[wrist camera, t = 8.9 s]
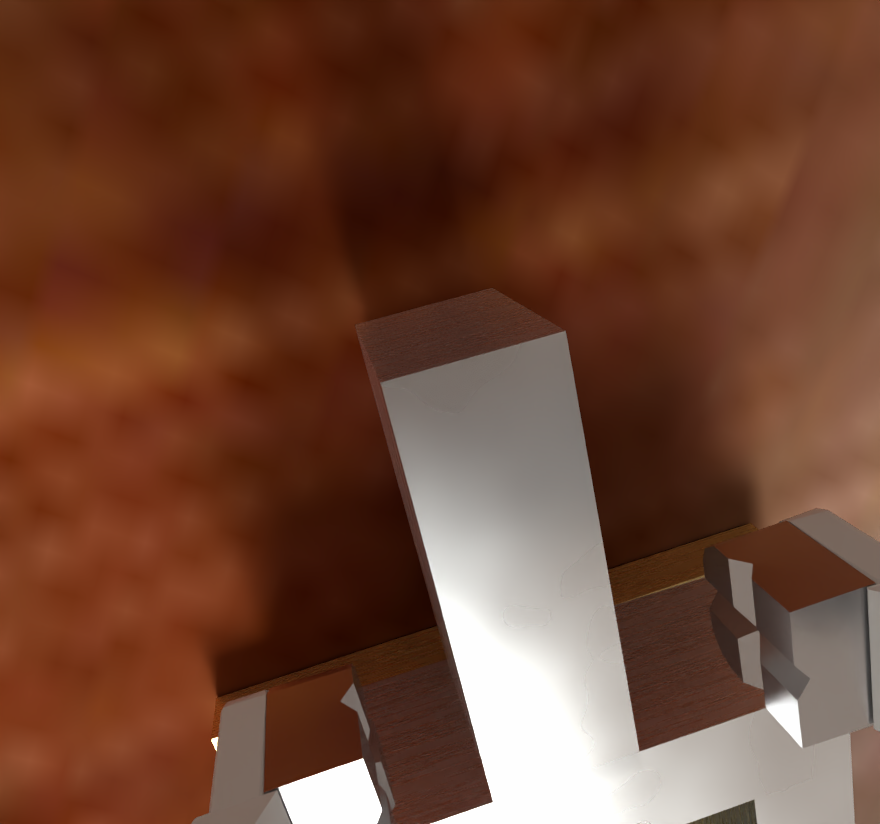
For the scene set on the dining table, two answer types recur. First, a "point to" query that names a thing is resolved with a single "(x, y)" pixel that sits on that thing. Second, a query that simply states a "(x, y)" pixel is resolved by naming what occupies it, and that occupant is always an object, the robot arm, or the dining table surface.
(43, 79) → the dining table surface
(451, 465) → the grey square frame handle
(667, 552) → the post
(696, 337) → the dining table surface
